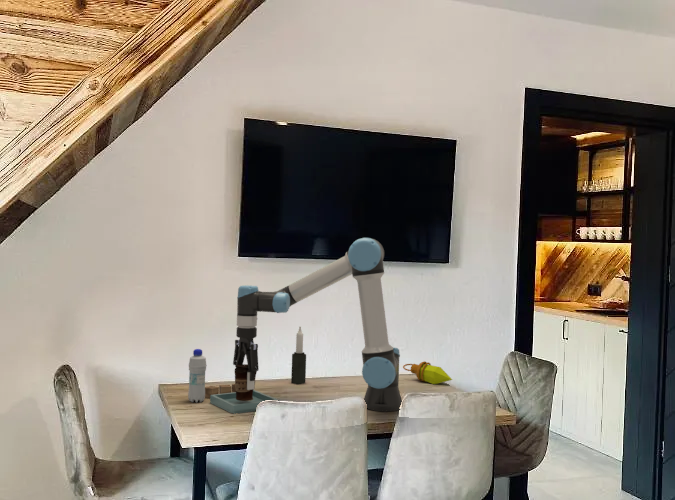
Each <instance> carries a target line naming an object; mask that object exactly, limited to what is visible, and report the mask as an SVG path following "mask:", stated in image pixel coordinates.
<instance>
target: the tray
mask: <svg viewBox="0 0 675 500" xmlns="http://www.w3.org/2000/svg"><path fill="white" fill-rule="evenodd" d="M252 397H253V400H252V401H239V400H236V392H233V393H232V392H231V393H224V394H215V395H210V398H209V400H210V401H209V403H210V404H211V405H213V406H216V407H218V408H219V409H222V410H224V411H227V412H228V413H230V414H232V413H233V414H232V415H237V414H236V413H238V414H245V413H250V412H251V413H253V412H256V411H255V410H256V407H257V405H258V404H259V403H260V402H262V401H265V400H278V401H279V402H280V399H278V398H276V397H273V396H271V395H268V394H265V393H264V392H261V391H258V390H256V389H254V390H253V395H252ZM234 413H235V414H234Z"/></svg>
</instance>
